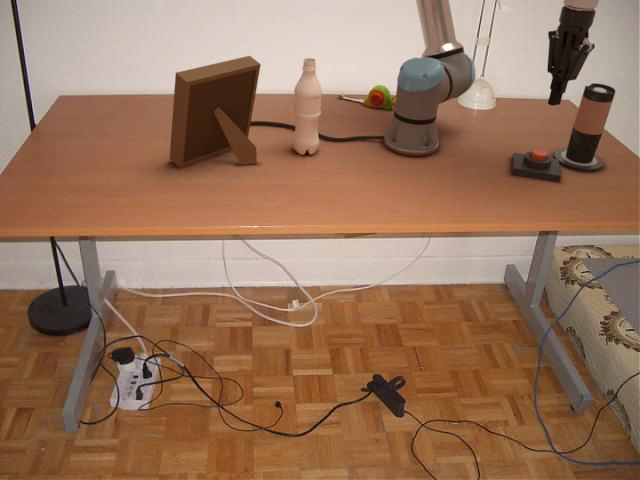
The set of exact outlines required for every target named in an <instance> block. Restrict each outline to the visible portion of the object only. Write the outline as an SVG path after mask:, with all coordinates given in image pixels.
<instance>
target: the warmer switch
mask: <svg viewBox="0 0 640 480" xmlns="http://www.w3.org/2000/svg"><path fill="white" fill-rule="evenodd" d="M531 153H532V150H530V151H527V152H525V153H518V152H513V153H512V157H511V176H515V177H521V178H528V179H535V180H541V181H548V182H552V183H553V182H554V183H560V181H561V178H562V174H561V173H562V172H561V165H560V164H559V160H558V159H554V158H553V157H552V156H550V155H549V154H547V158H546V160H545V161H537V160H534V159H532V158H531Z"/></svg>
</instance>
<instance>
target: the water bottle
mask: <svg viewBox="0 0 640 480" xmlns="http://www.w3.org/2000/svg"><path fill="white" fill-rule="evenodd" d="M316 62H317V61H316V59H315V58H311V57H307V58H306V57H305V58H304V59H303V65H302V68H301V70H302V74H301V75H300V77H299V79H298V80H297V82H296V84H295V87H294V90H293V93H294V99H293V100H294V101H293V113H294V118H295V119H294V121H295V126H296V127H295V129H294V134H293V138H292V140H291V141H292V142H291V143H292V147H293V149H294V151H296V153H298V154H300V155H303V156H304V155H305V154H306V152H308V154H309V155H313V154H315V153H316V151H317V150H318V147H319V144H320V137H318V133H319V132H318V130H319V129H318V124H319V118H320V116H321V115H322V111H321V109H322V95H323V89H322V88H323V87H322V86H321V84H320V81H319V79H318V77H317V74H316V71H317V65H316Z"/></svg>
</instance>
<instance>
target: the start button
mask: <svg viewBox="0 0 640 480" xmlns="http://www.w3.org/2000/svg"><path fill="white" fill-rule="evenodd" d="M531 151H532V153H531V158H532V159H534V160H537V161H545V160H546V158H547V155H548V152H547V151H545V150H543V149H540V148H535V149H532V150H531Z"/></svg>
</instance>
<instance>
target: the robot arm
mask: <svg viewBox="0 0 640 480" xmlns="http://www.w3.org/2000/svg"><path fill="white" fill-rule="evenodd" d="M599 2H600V0H563V1H562V4H564V5H563V6H562V7H561V11H560V15H559V18H558V22H559V25H558V26H557V28H556V29H555V30H549V31H548V32H547V36H548V42H549V43H548V55H547V70H546V72H547V73H548V74H549V73H550V74H551V77H552V78H551V82H550V86H549V88H550V93H549V97H548V101H547V105H549V106H551V107H552V106H553V107H554V106H558V105H559V106H560V105H561V102H562V98H563V95H564V94H565V93H566V92H567V87H568V84H569V81H575V80H577V79H578V77H579V75H580V72H581V71H582V68H583V67H584V65H585V63H586V61H587V59H588V57H589V55H590V54H591V52H592V51H593V50H594V49H595V47H596V45H595V43H591V42H590V40H589V37H590V35H589V34H590V33H589V31H590V29H591V27H592V26H593V24H594V21H595V17H596V13H597V11H596V10H595V9H596V8H598V5H599ZM415 3H416V8H417V13H418V18H419V23H420V28H421V32H422V38H423V43H424V46H425V47H424V51H423V52H422V54H421V56H420V57H412V58H410V59H407V60H406V61H404V62H403V63H402V64H401V66H400V68H399V72H398V75H397V80H396V81H397V83H396V84H397V85H396V92H395V97H396V98H395V99H396V100H395V106H394V109H393V116H392V117H391V118H392V119H391V121H390V122H389V124H388V127H387V129H386V131H385V133H384V135H358V136H357V135H356V136H349V137H333V136H328V135H324V134H322V133H319V132H318V137H319V139H323V140H325V141H333V142H350V141H357V140H383V145H384V147H385V148H386V149H388V150H389V151H391V152H393V153H396V154H398V155H401V156H406V157H427V156H431V155H433V154H434V153H436V152H437V151H438V149H439V143H440V140H439V133H438V129H437V122H436V121H437V115H438V109H439V105H440V104H443V103H445V102H447V101H450V100H452V99H457V98H460V97H461V96H462V95H464V94H465V93H467V92H468V91H469V90H470V89H471V88H472V86H473V84H474V83H475V79H476V75H477V74H476V73H477V72H476V70H477V69H476V65H475V62H474V60H473V59H472V57H469V55H468V54H466V53H465V49H464V45H463V44H462V43H461V42H459V41H458V40H457V38H456V31H455V25H454V20H453V16H452V10H451V4H450V0H415ZM251 125H252V126H253V125H261V126H263V125H264V126H267V125H268V126H275V127H276V126H277V127H283V128H288V129H292V130H295V127H296V125H293V124H289V123H285V122H277V121H266V120H251V124H250V126H251Z"/></svg>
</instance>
